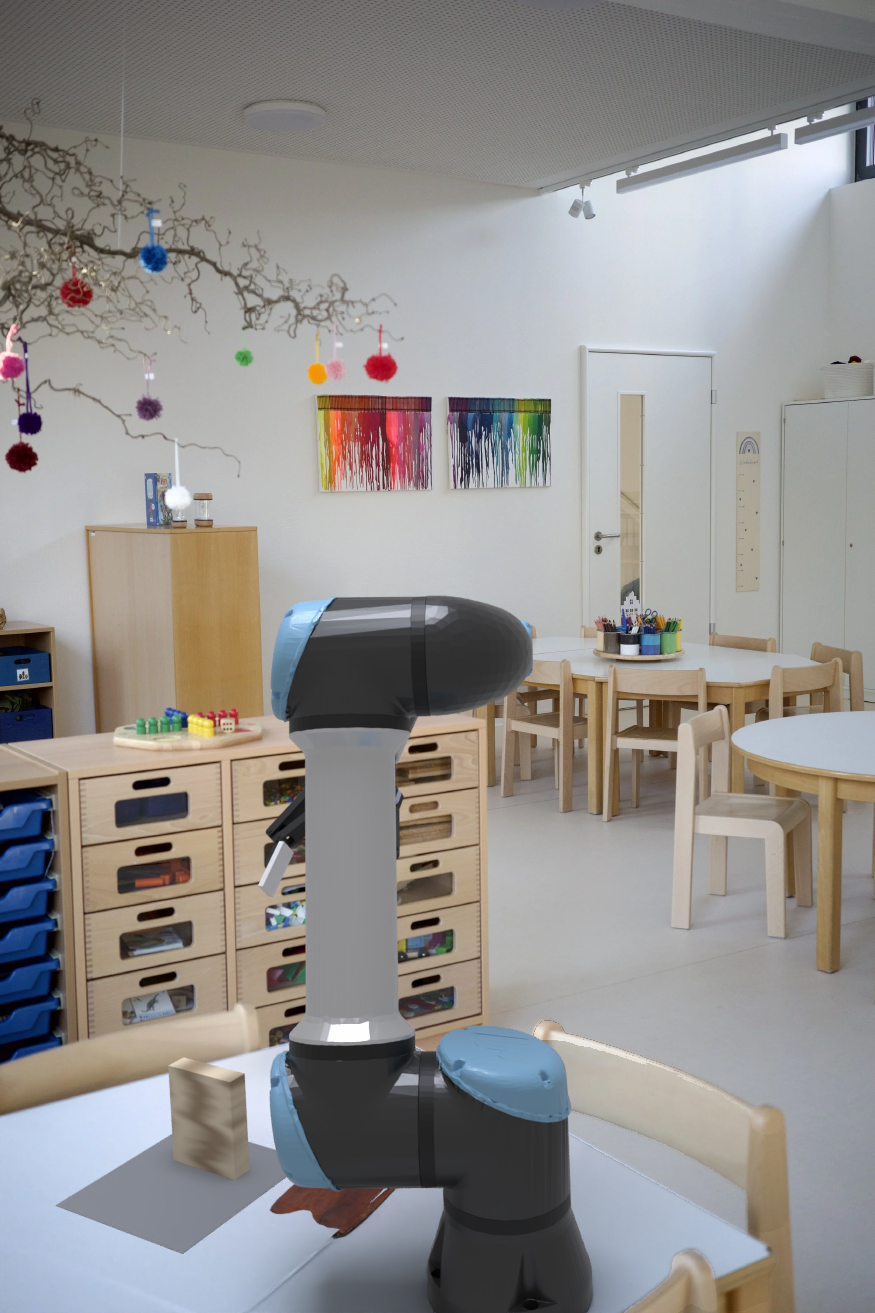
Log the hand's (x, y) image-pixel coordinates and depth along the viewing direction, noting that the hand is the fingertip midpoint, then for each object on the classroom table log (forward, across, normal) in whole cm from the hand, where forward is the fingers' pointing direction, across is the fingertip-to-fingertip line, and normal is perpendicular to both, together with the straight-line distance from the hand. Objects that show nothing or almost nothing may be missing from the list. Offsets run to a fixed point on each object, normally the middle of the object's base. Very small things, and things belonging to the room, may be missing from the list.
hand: (305, 898), depth 146 cm
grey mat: (+34, 0, -2) cm, 34 cm away
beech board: (+31, 0, -4) cm, 31 cm away
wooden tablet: (+26, -15, -11) cm, 32 cm away
